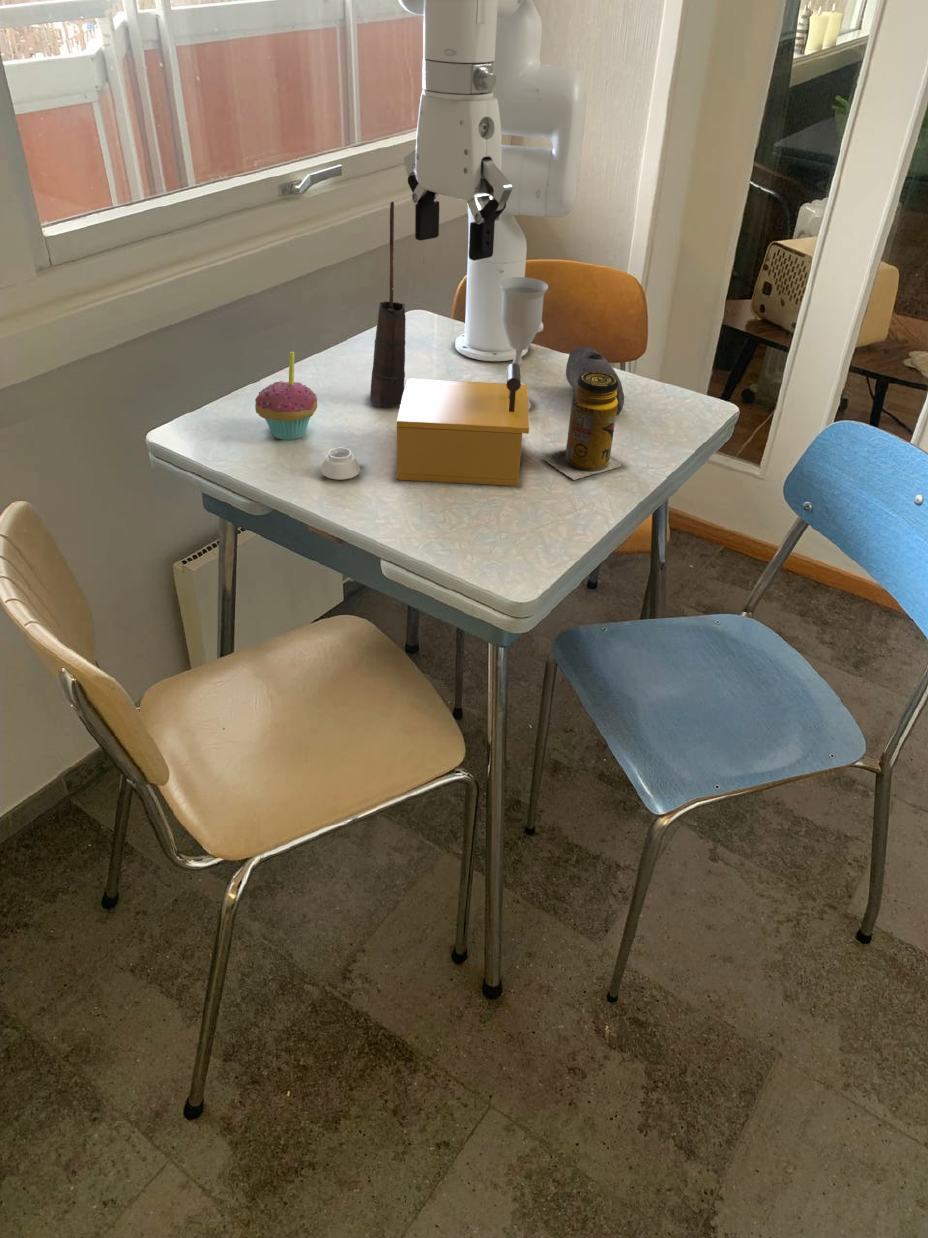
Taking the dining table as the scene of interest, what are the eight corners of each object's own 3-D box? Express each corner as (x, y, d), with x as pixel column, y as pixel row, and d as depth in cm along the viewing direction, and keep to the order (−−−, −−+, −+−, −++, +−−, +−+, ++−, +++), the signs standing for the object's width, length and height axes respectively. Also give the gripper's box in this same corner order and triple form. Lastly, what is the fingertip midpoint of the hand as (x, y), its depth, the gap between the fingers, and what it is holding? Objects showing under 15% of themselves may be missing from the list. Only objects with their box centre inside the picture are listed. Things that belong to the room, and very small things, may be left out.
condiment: (622, 466, 125) (635, 382, 118) (573, 481, 121) (584, 395, 114) (588, 445, 130) (598, 363, 122) (540, 458, 126) (548, 375, 119)
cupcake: (285, 415, 134) (278, 334, 126) (332, 430, 130) (328, 347, 123) (245, 436, 128) (236, 352, 120) (293, 452, 124) (286, 367, 117)
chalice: (545, 411, 138) (557, 290, 127) (503, 417, 136) (512, 294, 125) (524, 392, 144) (534, 275, 133) (484, 397, 141) (491, 278, 131)
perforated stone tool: (632, 424, 136) (639, 379, 132) (600, 427, 134) (606, 382, 130) (591, 384, 147) (596, 342, 143) (560, 387, 146) (565, 344, 142)
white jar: (313, 473, 120) (339, 486, 117) (312, 452, 118) (338, 465, 116) (341, 460, 123) (367, 472, 121) (340, 440, 121) (367, 452, 119)
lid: (526, 389, 126) (530, 351, 123) (528, 433, 115) (532, 392, 112) (406, 383, 126) (406, 345, 123) (396, 426, 115) (396, 385, 112)
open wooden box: (517, 439, 130) (521, 389, 126) (517, 486, 119) (522, 433, 115) (406, 433, 130) (406, 383, 126) (396, 479, 119) (396, 427, 115)
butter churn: (408, 421, 134) (409, 218, 117) (347, 411, 135) (339, 210, 119) (427, 397, 141) (430, 202, 124) (369, 388, 143) (364, 194, 126)
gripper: (540, 88, 94) (527, 261, 104) (433, 68, 104) (431, 227, 114) (486, 92, 90) (478, 271, 100) (380, 71, 100) (383, 235, 110)
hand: (453, 247), depth 107 cm, fingers open, 9 cm apart
